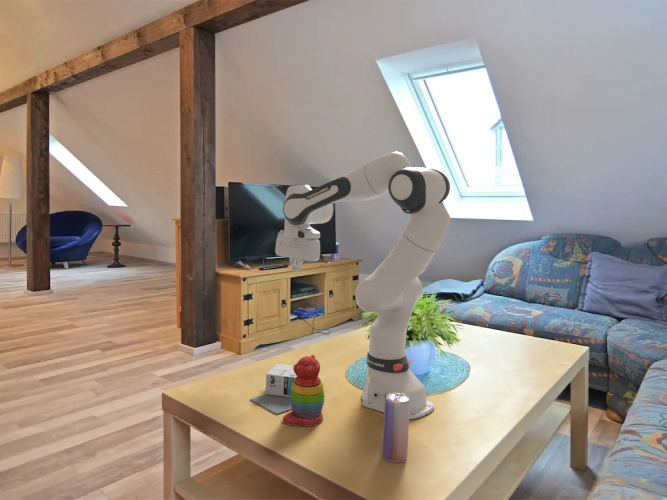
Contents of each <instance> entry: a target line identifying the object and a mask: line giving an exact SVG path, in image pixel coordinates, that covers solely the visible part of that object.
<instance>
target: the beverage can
mask: <svg viewBox="0 0 667 500" xmlns="http://www.w3.org/2000/svg"><path fill="white" fill-rule="evenodd" d="M409 414H410V401H409V397H408V396H407V395H405V394H402V393H389V394H387V395H386V399H385V406H384V412H383V427H382V428H383V429H382V445H381V446H382V447H381V449H382V451H381V455H382V457H383V458H384V459H385V460H386V461H387V462H389V461H390V463H392V462H394V464H400V463H403V462H405V461H406V460H407V458H408V447H409V446H408V445H409V428H410V427H409V426H410V419H409ZM399 462H400V463H399Z"/></svg>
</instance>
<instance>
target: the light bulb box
mask: <svg viewBox="0 0 667 500" xmlns="http://www.w3.org/2000/svg"><path fill="white" fill-rule="evenodd" d="M293 367H294V365H290V364H282V363H276V364H275V365H274V366H273V367H272V368H271V369H270V370H269V371H268V372H266V374H265V375H266V377H265V393H264V395H265V394H269V395H276V396H283V397H290V394H291V390H292V386H293V383H294V379H295V378H296V377H297V375H296V374H295V372H294V370H293ZM290 398H291V397H290Z"/></svg>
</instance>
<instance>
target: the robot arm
mask: <svg viewBox="0 0 667 500" xmlns="http://www.w3.org/2000/svg"><path fill="white" fill-rule="evenodd" d="M450 191H451V183H450V180H449V178H448V177H447V176H446V174H444V173H443V172H442V171H439V170H437V169H435V168H426V167H420V166H419V167H412V165H411V163H410V160H409V159H408V158H407V156H406V155H405V154H403V153H402V152H399V151H392V152H389V153H385V154H383V155H380V156H377V157H375V158H372V159H371V160H369V161H367V162H366V163H364V164H362V165H360V166H358V167H356V168H355V169H353V170H350V171H349V172H347V173H345V174H343V175H341V176H339V177H337V178H335V179H333V180H331V181H328V182H326V183H324V184H322V185H319V186H318V187H316V188H313V189H312V188H311V186H310V185H308V184H305V183H304V184H303V183H300V184H298V183H297V184H293V185H290V186H288V187H287V190H286V193H285V201H284V203H283V207H282V212H283V215H284V218H285V219H284V229H281V230H280V231H278V233H277V238H276V240H275V241H276V242H275V248H274V250H275V251H274V253H275V255H276V256H279V257H285V258H289V261H288V262H290V265H291V271H292V272H296V273H299V272H301V271H302V270H301V269H302V265H303V263H304V261H307V262H317V261H319V259H320V257H321V242H320V240H319V239H321V232H320V231H318V230H316V229H315V228H313V227H312V226H311V225H317V224H318V225H319V224H325V223H328V222H330V221H331V220H332V218H333V216H334V212H335V207H334V204H335V203H341V202H368V201H371V200H376V199H378V198H382V197H384V196H386V195H387V194H389V197H391V200H392V201H393V202H394V203H395V204H396V205H397V206H399V207H400V209H401V211H403V213H404V214H409V215H410V218H409V221H408V223H407V224H406V226H405V227H404V229H403V231H402V233H401V235H400V236H399V238H398V240H397V242H396V243H395V244H394V247H393V248H392V250H391V251H390V253H388V255H387V256H386V258H385V259H383V261H382V262H380V264H379V265H378V266H377V267H376V268H375V269H374V270H373V271H372V272H371V274H370V275H368V276H367V277H366V278H364V279H363V280H361V281H360V282H359V283H358V284H357V286H356V288H355V291H354V296H355V302H356V304H357V306H358V307H359V309H361V310H362V311H364V312H366V313H373V314H377V317H376V318H375V320H374V321H373V323H372V324H371V325H370V329H369V339H368V341H369V342H368V352H367V355H366V365H367V370H366V371H367V372H366V375H365V376H366V377H365V382H364V386H363V390H362V393H361V396H360V397H361V399H362V406H363V407H365V408H368V409H371V410H373V411H374V410H375V411H376V412H377V411H378V412H381V413H384V406H385V399H386V395H387V394H389V393H402V394H405V395H407V396H408V397H409V401H410V414H409V420H414V419H415V420H416V419H418V418H422V417H424V416H427V415H429V414H430V413H432V412H433V411H434V408H435V405H434V403H433V402H431V401H429V400H428V399H427V391H426V390H427V389H426V387H425V385H424V384H423V383H422V382H421V381H420V380H419V378H418V377H417V376H416V375H415V374H414V373H413V372H412V371H411V369H410V365H412V364H413V363H412V362H413V360H408V359H407V358H408V357H407V354H406V344H407V343H406V341H407V331H408V327H409V323H410V319H411V317H412V313H413V312H414V308H415V307H416V304H417V302H418V301H419V300H420V299H421V297H422V295H423V285H422V282H421V279H419V276H420V275H422V274H423V273H424V272H425V271H426V270H427V268H428V266H429V265H430V263H431V261H433V258H434V256H435V255H436V253H437V252H438V250H439V248H440V247H441V245H442V243H443V241H444V239H445V237H446V235H447V233H448V231H449V227H450V224H451V217H450V214H449V213H448V211H447V210H446V209H445V208H444V207H443V206H441V203H443V202H444V201H445V200H446V199H447V198H448V196H449V195H450ZM426 414H427V415H426Z"/></svg>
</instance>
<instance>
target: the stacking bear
mask: <svg viewBox="0 0 667 500" xmlns="http://www.w3.org/2000/svg"><path fill="white" fill-rule="evenodd" d="M293 366H294V367H293V370H294V372H295V374H296V375H297V377H296V378H295V379H294V383H293V386H292V390H291V394H290V397H291V398H290V400H291V407H292V410H291V411H289V412H288V413H286V414H285V415H283V417H282V423H284V424H286V425H288V426H294V427H300V428H301V427H304V428H306V427H315V426H318V425H319V424H321V423H322V422H323V421H324V416H323V413H322V411H323V407H324V403H325V390H324V384H323V382H322V380H321V379H320V377H319V373H320V372H321V371H320V370H321V364H320V362H319V360H318V359H316V356H315V355H314V354H311V355H310V356H303V357H300V359H299V360H298V361H297V362H296V363H295V364H294V365H293Z"/></svg>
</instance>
